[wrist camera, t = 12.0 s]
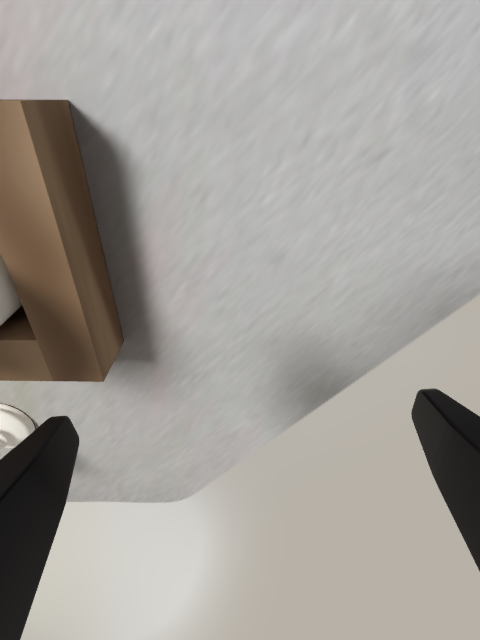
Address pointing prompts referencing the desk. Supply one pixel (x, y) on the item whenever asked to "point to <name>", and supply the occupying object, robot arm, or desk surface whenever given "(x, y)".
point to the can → (7, 293)
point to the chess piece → (13, 426)
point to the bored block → (51, 252)
